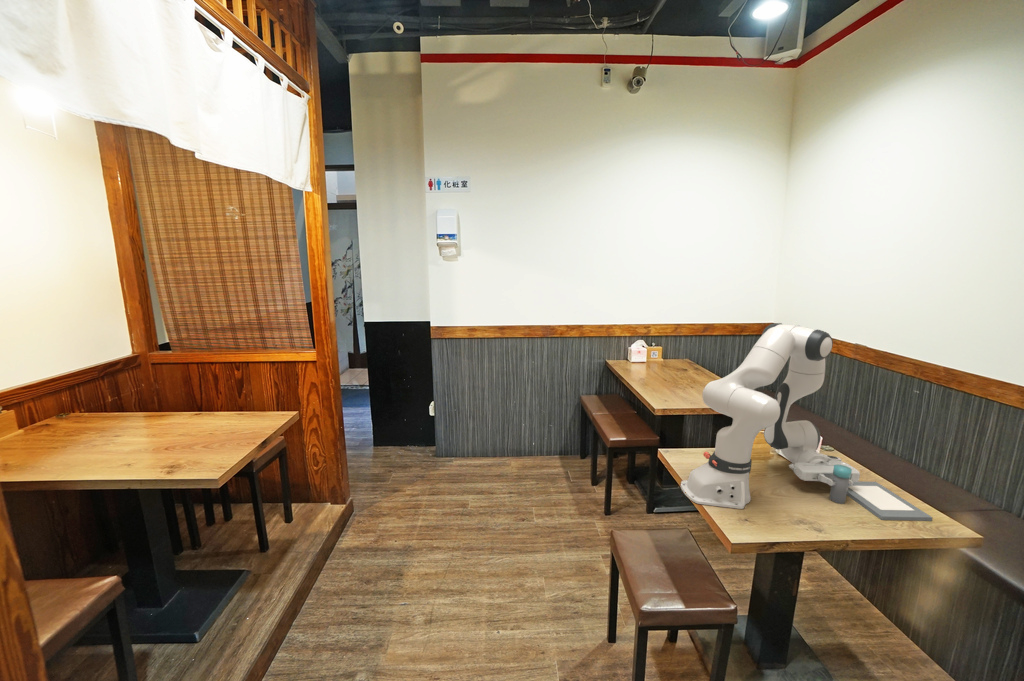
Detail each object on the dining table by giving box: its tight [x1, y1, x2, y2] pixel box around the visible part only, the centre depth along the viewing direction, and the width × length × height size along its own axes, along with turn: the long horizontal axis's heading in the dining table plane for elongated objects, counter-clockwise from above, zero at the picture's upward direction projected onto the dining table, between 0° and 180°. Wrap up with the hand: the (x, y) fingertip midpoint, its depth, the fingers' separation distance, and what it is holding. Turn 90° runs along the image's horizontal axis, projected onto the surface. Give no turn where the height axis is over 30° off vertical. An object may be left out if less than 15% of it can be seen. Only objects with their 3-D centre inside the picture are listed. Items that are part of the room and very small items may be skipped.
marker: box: [829, 465, 852, 505], centre depth 147 cm, size 5×5×12 cm
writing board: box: [846, 480, 934, 522], centre depth 148 cm, size 16×22×1 cm
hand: (842, 484), depth 146 cm, fingers closed on marker, 4 cm apart
